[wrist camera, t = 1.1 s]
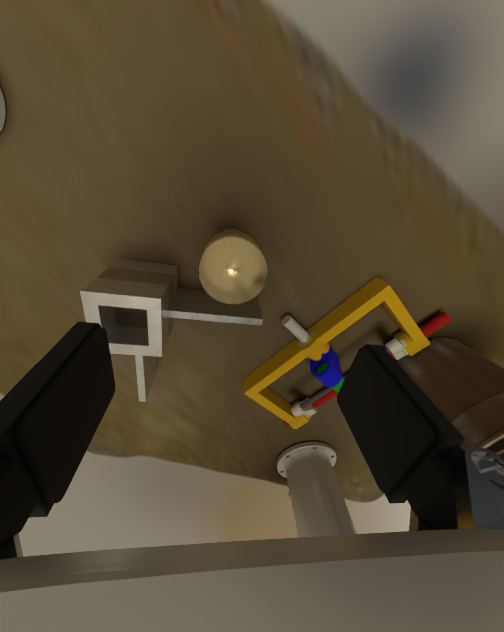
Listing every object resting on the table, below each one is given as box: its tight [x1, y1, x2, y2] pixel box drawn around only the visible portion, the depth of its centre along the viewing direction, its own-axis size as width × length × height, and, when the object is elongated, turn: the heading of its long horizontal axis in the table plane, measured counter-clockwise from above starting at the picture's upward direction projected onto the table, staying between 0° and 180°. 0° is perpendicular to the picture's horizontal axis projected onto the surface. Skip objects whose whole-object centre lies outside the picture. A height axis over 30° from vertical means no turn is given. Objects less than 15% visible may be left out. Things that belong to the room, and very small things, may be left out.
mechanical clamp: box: [243, 277, 452, 429], centre depth 35 cm, size 18×6×30 cm
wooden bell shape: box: [199, 227, 268, 304], centre depth 23 cm, size 5×5×11 cm
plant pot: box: [397, 337, 504, 459], centre depth 34 cm, size 16×16×16 cm
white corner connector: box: [80, 258, 263, 401], centre depth 29 cm, size 16×16×9 cm
